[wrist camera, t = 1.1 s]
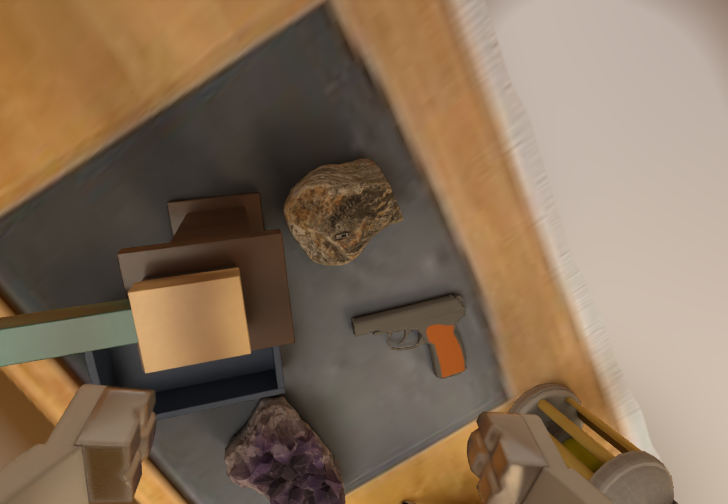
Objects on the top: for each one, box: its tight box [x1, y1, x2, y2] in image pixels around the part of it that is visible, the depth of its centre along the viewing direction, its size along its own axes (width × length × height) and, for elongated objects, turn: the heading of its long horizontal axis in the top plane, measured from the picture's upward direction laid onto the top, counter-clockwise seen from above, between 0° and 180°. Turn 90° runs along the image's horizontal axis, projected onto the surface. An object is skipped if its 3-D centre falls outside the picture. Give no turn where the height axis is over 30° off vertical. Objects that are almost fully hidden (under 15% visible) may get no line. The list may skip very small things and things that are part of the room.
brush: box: [0, 265, 251, 373], centre depth 27 cm, size 15×5×4 cm, turn 94°
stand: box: [117, 192, 295, 371], centre depth 41 cm, size 8×10×25 cm
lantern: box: [508, 383, 678, 504], centre depth 63 cm, size 14×14×25 cm
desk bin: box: [84, 343, 285, 421], centre depth 53 cm, size 12×20×6 cm, turn 94°
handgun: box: [351, 294, 467, 379], centre depth 63 cm, size 2×16×12 cm
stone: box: [284, 158, 403, 266], centre depth 54 cm, size 14×10×10 cm
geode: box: [224, 397, 346, 504], centre depth 58 cm, size 20×12×10 cm, turn 36°
